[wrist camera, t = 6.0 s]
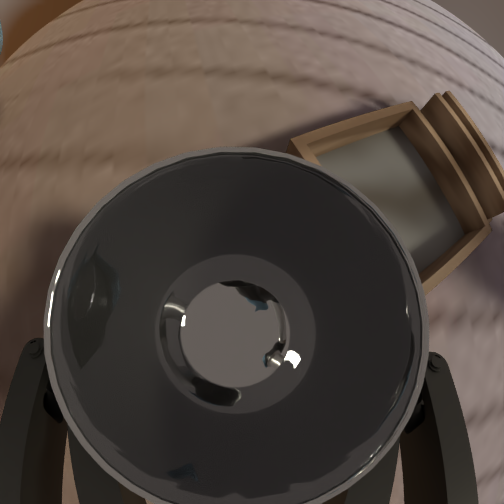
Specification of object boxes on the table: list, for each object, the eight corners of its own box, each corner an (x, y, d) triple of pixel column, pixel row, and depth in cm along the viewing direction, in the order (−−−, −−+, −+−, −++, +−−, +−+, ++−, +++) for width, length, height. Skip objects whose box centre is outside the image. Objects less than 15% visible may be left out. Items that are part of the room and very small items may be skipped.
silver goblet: (207, 394, 18) (159, 546, 3) (160, 293, 19) (9, 244, 5) (310, 347, 19) (462, 407, 5) (261, 247, 20) (323, 104, 6)
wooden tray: (277, 165, 22) (291, 120, 16) (420, 113, 25) (447, 82, 19) (367, 323, 20) (411, 324, 14) (486, 222, 23) (524, 204, 17)
